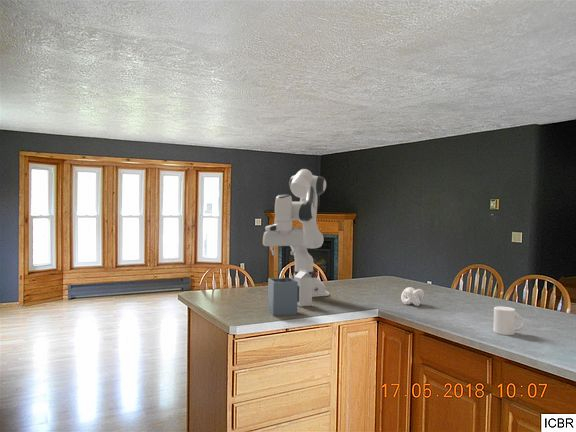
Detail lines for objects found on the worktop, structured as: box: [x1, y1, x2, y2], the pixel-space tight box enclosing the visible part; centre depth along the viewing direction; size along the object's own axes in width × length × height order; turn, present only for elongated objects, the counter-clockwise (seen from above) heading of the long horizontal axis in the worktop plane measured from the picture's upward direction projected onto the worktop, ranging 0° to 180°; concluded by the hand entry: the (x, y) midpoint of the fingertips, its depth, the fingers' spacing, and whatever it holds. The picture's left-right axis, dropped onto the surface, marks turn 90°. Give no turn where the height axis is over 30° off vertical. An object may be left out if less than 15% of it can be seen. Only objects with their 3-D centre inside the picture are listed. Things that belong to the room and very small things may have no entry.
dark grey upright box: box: [267, 277, 299, 316], centre depth 221 cm, size 14×12×16 cm
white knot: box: [400, 287, 425, 307], centre depth 243 cm, size 11×12×9 cm
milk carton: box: [293, 269, 313, 307], centre depth 238 cm, size 7×7×19 cm
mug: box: [492, 305, 526, 336], centre depth 189 cm, size 8×10×12 cm
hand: (283, 255), depth 220 cm, fingers open, 8 cm apart
